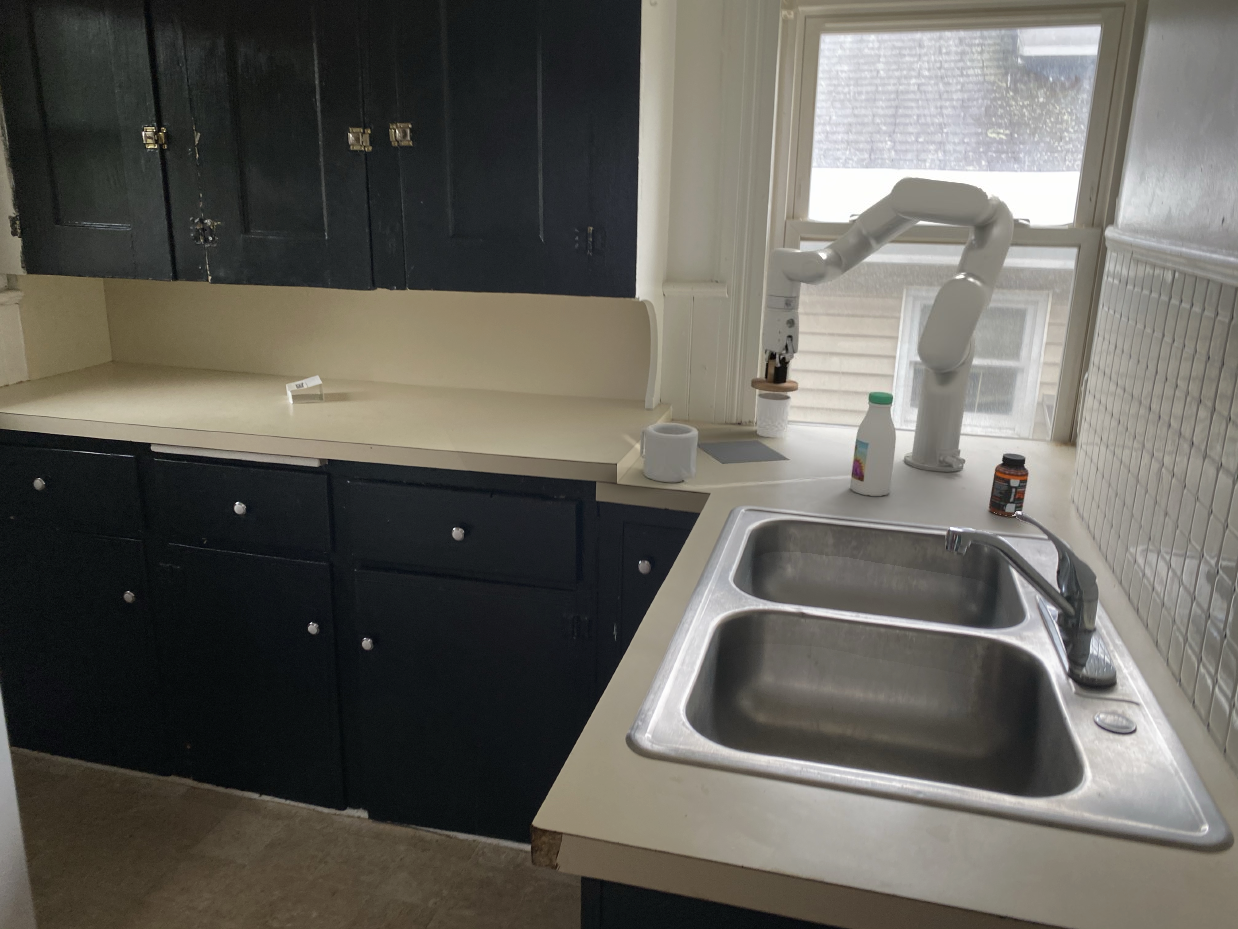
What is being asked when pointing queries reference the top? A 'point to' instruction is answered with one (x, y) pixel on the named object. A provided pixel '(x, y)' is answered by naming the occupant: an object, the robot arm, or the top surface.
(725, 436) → the top surface
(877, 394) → the milk bottle
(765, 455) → the mat
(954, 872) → the top surface
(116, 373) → the top surface
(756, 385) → the wooden lid
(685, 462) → the mug
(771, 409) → the white cup
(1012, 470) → the supplement bottle
